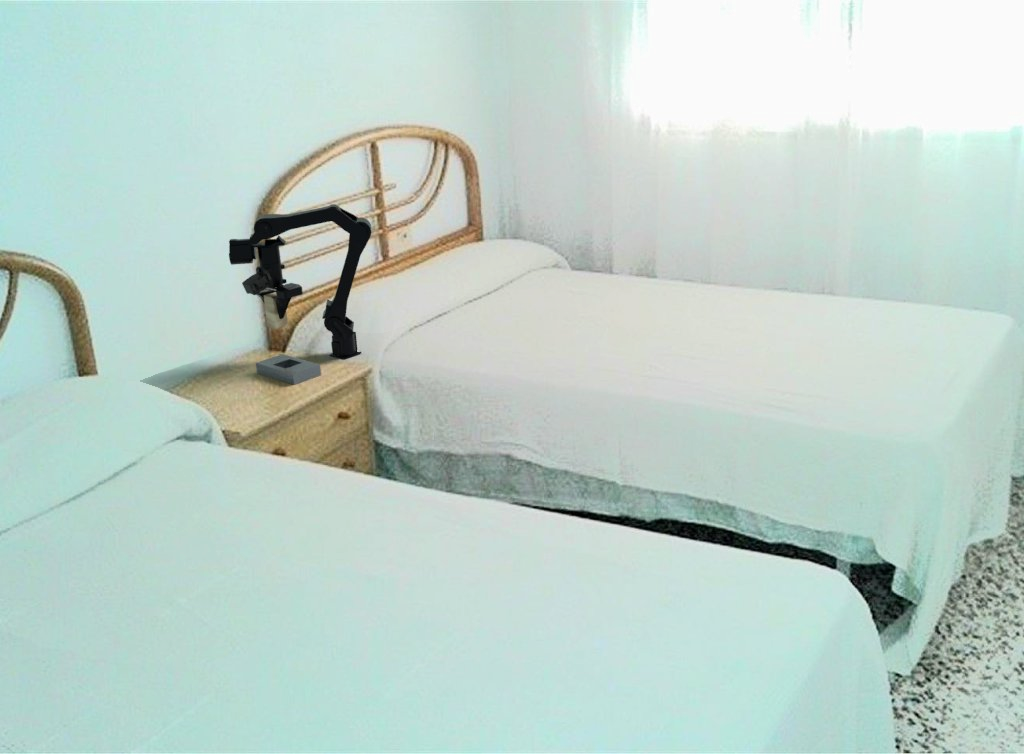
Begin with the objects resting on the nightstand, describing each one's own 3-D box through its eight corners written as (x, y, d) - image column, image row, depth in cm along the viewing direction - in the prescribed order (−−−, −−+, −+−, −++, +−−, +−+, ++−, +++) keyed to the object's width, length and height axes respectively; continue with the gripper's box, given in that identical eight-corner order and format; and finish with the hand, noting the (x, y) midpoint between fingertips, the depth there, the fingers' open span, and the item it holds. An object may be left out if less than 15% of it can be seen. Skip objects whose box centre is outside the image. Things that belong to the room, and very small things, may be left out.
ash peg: (279, 323, 290) (275, 292, 287) (288, 325, 288) (284, 294, 285) (267, 326, 287) (263, 295, 284) (276, 329, 285) (272, 297, 282)
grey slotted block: (283, 364, 286) (282, 354, 285) (321, 375, 276) (319, 364, 275) (257, 373, 280) (255, 362, 279) (294, 384, 270) (292, 373, 269)
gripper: (224, 263, 281) (232, 319, 287) (266, 272, 270) (273, 330, 275) (258, 255, 289) (265, 309, 295) (300, 264, 278) (307, 319, 283)
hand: (276, 317), depth 287 cm, fingers closed on ash peg, 4 cm apart
